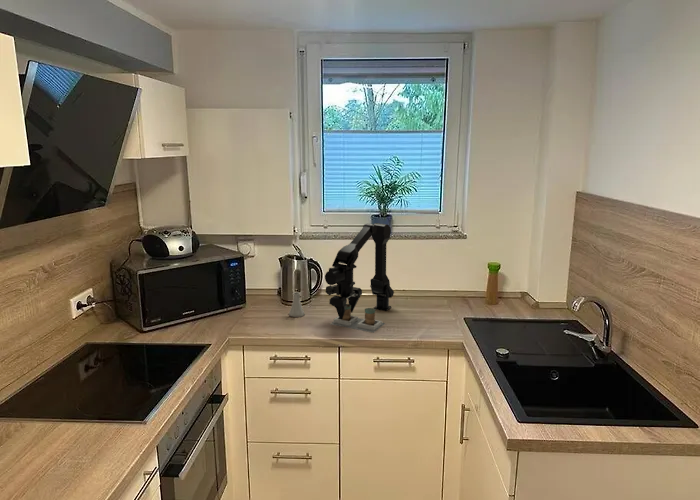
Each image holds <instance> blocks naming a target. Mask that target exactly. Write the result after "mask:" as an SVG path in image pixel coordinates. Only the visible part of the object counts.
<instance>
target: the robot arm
mask: <svg viewBox="0 0 700 500" xmlns="http://www.w3.org/2000/svg"><path fill="white" fill-rule="evenodd" d="M391 233H392V228H391V226H390V225H389V224H386V223H378V222H375V223H364V224H363V225H362V228H361V229H360V231H359V232H358V233H357V234H356V235H355V237H354V238H353V239H352V240H351V242H350V243H348V244H347V245H345V246H343V247H342V248H340V250H338V252H337V254H336V256H335V258H334V260H333V262H332V265H331V267H328V271H326V272H325V275H324V280H325V282H326V284H327V286H326V287H325V293H326V294H327V295H328V296H332V295H334V294H335V295H334V296H332V297H331V298H329V302H328V303H329V305H331V306H333V307H334V308H335V310H336V313H337V315H338V316H339V318H340V319H342V318H343V316H344V312H345V309H346V306H347V304H350V305H351V314H352V313H353V312H354V310H355V307H356V305H357V304H358V301H359V300H360V298H361V296H362V294H363V289H361V287H354V286H355V284H356V281H354V269H357V267H358V266H357V265H356V264H355V263H356V262H357V260H358V259H359V253H360V251H361V249H362V248H363V247H364V246H365V244H366V243H367V242H368V241H369V239H370V238H372V240H373V243H374V245H375V247H374V250H375V251H374V253H375V255H374V259H375V260H374V262H375V263H374V276H373V277H372V278H371V279H370V286H369V287H370V291H371V293H372V295H373V296H376V302H375V303H376V304H375V306H374V307H373V309H375V310H379V311H383V312H387V311H388V310H389V309H391V308H392V305H390V299H391V298H393V297H394V293H395V291H394V290H393V288H392V287H391V282H390V281H391V280H390V279H389V277H388V276H387V244H388V242H389V240H390V238H391ZM328 285H329V286H328ZM347 302H348V303H347ZM338 316H337V317H338Z"/></svg>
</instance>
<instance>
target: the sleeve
mask: <svg viewBox="0 0 700 500" xmlns="http://www.w3.org/2000/svg"><path fill="white" fill-rule="evenodd" d="M346 304H347V306H346V309H345V312H344V316H343V318H342V319H341V320H345V321H350V320H351V316H352V313H351V305H350V304H349V303H346Z"/></svg>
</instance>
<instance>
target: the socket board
mask: <svg viewBox="0 0 700 500" xmlns="http://www.w3.org/2000/svg"><path fill="white" fill-rule="evenodd" d="M330 325H331V326H332V325H333V326H338V327H341V328H342V327H343V328H349V329H352V330H358V331H363V332H366V333H367V332H368V333H375V332H376V331H378V330H379V329H380V328H382V327H383V326H384V325H386V322H383V321H382V320H379V319H375V325H373V326H372V325H367V324H365V318H360V317H359V316H356V315H351V320H350V321H345V320H341V319H340V318H339V316H337V317H335V318H334V319H333V321H332V322H331V323H330Z"/></svg>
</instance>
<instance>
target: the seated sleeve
mask: <svg viewBox="0 0 700 500" xmlns="http://www.w3.org/2000/svg"><path fill="white" fill-rule="evenodd" d="M375 318H376V309H374V307H373V308H372V307H367V308H364V319H365V324H367V325H372V326H373V325H375V320H376V319H375Z"/></svg>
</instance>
